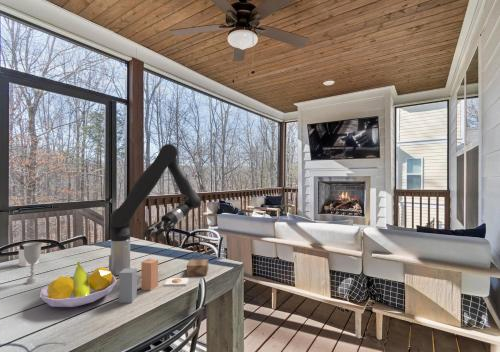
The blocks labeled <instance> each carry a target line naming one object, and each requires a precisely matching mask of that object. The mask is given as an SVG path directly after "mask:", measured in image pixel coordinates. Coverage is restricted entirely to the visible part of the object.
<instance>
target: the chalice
mask: <svg viewBox="0 0 500 352" xmlns="http://www.w3.org/2000/svg"><path fill="white" fill-rule="evenodd" d="M42 244H43V242H42V241H41V242H40V241H35V242H34V243H27V244H24V245H23V247H24V257H25V259H26V261H27V262H28V263H29V264H31V266H30V272H29V273H30V276H29V277H28V278H27V280H26V282H25V285H33V284H34V285H35V284H36V283H37V284H38V283H39V282H40V280H39V278H38V276H35V265H34V263H36V262H37V260H38V259H39V258H40V256H41V254H42ZM39 260H40V259H39Z"/></svg>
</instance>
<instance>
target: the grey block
mask: <svg viewBox="0 0 500 352" xmlns="http://www.w3.org/2000/svg"><path fill="white" fill-rule="evenodd" d="M137 270H138V268H137V267H136V268H135V267H133V268H131V267H130V268H126V269H123V270H122V271H121V272H120V273H119V275H118V280H119V281H118V286H119V287H118V304H133V302H134V301H135V300H136V299H137V294H138V293H137V289H138V288H137V285H138V284H137V283H138V282H137V277H138V276H137V274H138V273H137V272H138V271H137Z"/></svg>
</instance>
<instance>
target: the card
mask: <svg viewBox="0 0 500 352" xmlns="http://www.w3.org/2000/svg"><path fill="white" fill-rule="evenodd" d="M189 280H190V278H189V277H175V278H173V277H172V278H171V277H170V278H168V277H167V279H166V280H165V282H164V284H163V286H164V287H171V286H172V287H174V286H175V287H176V286H177V287H178V286H181V287H182V286H184V287H185V286H187V285H188V282H189Z"/></svg>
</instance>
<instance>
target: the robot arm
mask: <svg viewBox="0 0 500 352" xmlns="http://www.w3.org/2000/svg"><path fill="white" fill-rule="evenodd" d="M178 153H179V152H178V148H177V146H176V145H174V144H171V143H167V144H164V145H163V146H161V147H160V150H159V152H158V154H157V156H156V157H155V159H154V160H153V161H152V163H151V164H150V165H149V166H148V167H147V168H146V169H145V170H144V171H143V172H142V174H141V175H140V176H139V177H138V178H137V180H136V181H135V182H134V184H133V185H132V187H131V188H130V191H129V193H128V195H127V197H126V199H124V201H123V202H122V204H121V205H120V206H119V207H118V208H116V209H114V210H113V211H112V212H111V214H110V254H109V256H108V270H109V271H110V272H111V273H112V275H114V276H119V273H120V272H121V271H122V270H123V269H126V268H131V220H132V218H133V217H134V215H135V213H136V211H137V210H138V208H139V207H140V206H141V204H142V203H143V202H145V200H146V199H147V197H148V196H149V195H150V194H151V193H152V191H153V190H154V188H155V187H156V185H157V184H158V182H159V180H160V179H161V177H162V175H163V174H164V172H165V171H166V169H167V168H168V170H169V172H170V173H171V175H172V178H173V180H174V182H175V184H176V186H177V189H178V191H179V193H180V195H182V196H186V198H185V199H184V200H182V201H181V202H180V203H179V205H177V206H175V207H174V208H172V209H171V210H169V211H167V212H166V213H165V214H164V215H162V216H161V218H160V219H161V220H160V221H158V222H157V221H155V222H153V223H151V225H149V226H148V227H146V229H147V230H145V231H144V232H143V233H142V234H143V237H147V236H149V235H151V233H153V232H154V233H153V234H154V237H156V238H157V237H158V236H160V235H162V234H165V232H166V233H167V232H169V231H170V230H171V229H172V228H174V227H175V226H176V225H177V224H178V223H180V222H181V220H183V219H184V218H185V217H186V216H187V215H189V212H190V211H191V210H194V209H198V208H200V207H201V205H202V201H201V197H200V196H199V195H198V193H197V192H196V191H195V190H194V188H193V187H192V185H191V183H190V181H189V178H188V177H187V176H186V174H185V173H184V170H183V169H182V167H181V165H180V164H179V161H178V158H177V156H178V155H179V154H178Z"/></svg>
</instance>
